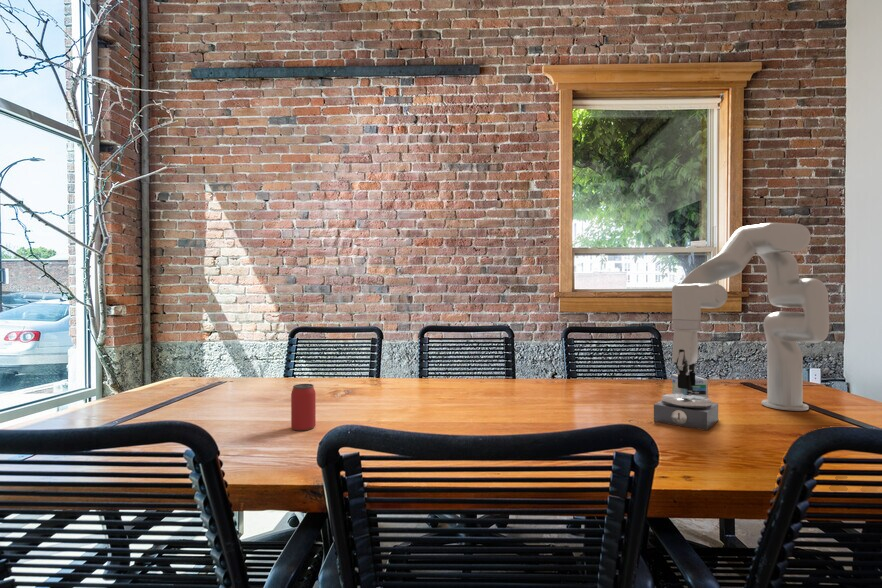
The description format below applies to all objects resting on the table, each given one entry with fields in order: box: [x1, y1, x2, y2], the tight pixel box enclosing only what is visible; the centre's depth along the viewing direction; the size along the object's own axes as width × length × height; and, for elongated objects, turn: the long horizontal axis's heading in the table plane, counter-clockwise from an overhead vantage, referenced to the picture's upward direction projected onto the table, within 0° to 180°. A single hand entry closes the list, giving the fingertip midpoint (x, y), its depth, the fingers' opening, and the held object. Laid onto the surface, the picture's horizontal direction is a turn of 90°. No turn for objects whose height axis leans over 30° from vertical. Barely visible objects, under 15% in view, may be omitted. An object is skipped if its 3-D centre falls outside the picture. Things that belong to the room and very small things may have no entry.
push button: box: [674, 362, 696, 396], centre depth 139 cm, size 7×5×10 cm
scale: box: [653, 399, 719, 431], centre depth 139 cm, size 15×14×5 cm
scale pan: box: [661, 393, 712, 408], centre depth 139 cm, size 13×13×1 cm
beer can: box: [290, 383, 317, 432], centre depth 132 cm, size 7×7×12 cm
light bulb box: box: [671, 373, 709, 399], centre depth 153 cm, size 11×7×11 cm, turn 179°
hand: (686, 386), depth 139 cm, fingers closed on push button, 5 cm apart
